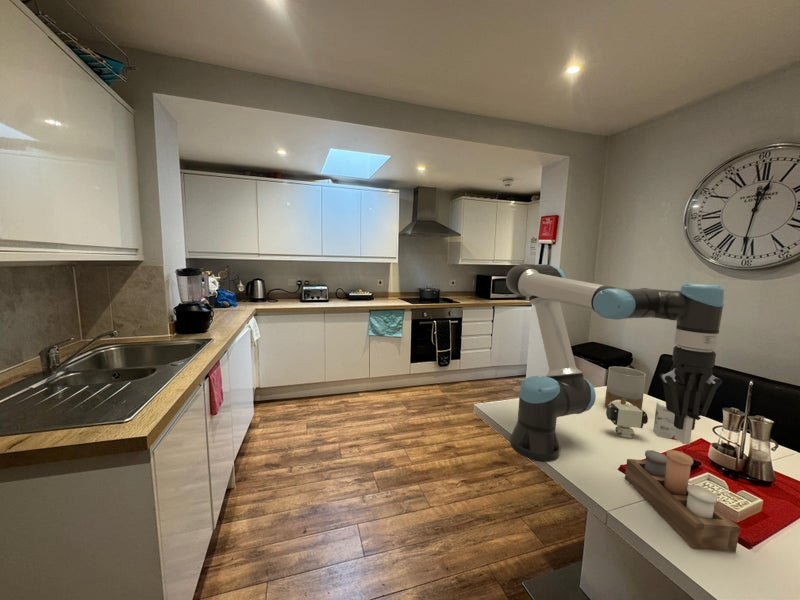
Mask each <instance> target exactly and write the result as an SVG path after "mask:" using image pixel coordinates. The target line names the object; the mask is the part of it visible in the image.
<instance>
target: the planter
mask: <svg viewBox="0 0 800 600" xmlns="http://www.w3.org/2000/svg"><path fill="white" fill-rule="evenodd" d="M646 377H647V374H646V373H645V372H643V371H641V370H638V369H635V368H631V367H625V366H609V367H608V373H607V381H606V391H605V397H604V399H605V400H604V408H606V409H607V408H608V407H609V406H610V405H611V403H612V402H614V401H620V402H619V404H622V405H624V404H627V403H630V404H631V406H638V407H639V408H640V409H642V410H643V402H644V392H645V386H646V385H645V384H646Z"/></svg>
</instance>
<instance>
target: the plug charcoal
mask: <svg viewBox="0 0 800 600" xmlns="http://www.w3.org/2000/svg"><path fill="white" fill-rule="evenodd" d="M644 456H645V460H646V461H645V470H646V471H647V472H648V473H649V474H650V475H651V476H660V477H665V472H666V465H667V458H668V457H667V456H666V455H665V454H664V453H661V452H660V451H655V450H650V449H649V450H648V449H647V450H645V452H644Z"/></svg>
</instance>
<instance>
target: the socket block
mask: <svg viewBox="0 0 800 600" xmlns="http://www.w3.org/2000/svg"><path fill="white" fill-rule="evenodd" d="M645 461H646V459H633V458H626V463H625V465H626V466H625V472H624V473H625V474H624V479H625V481H627V482H628V484H629V485H631V486H632V488H634V490H635V491H636V492H637V493H638V494H639V495H641V497H642V498H643V499H644V500H645V501H646V502H647V503H648V504H649V505H650V506H651V507H652V509H653V510H655V512H656V513H657V514H659V516H660V517H661V518H662V519H663V520H664V521H665V522H666V523H667V524H668V525H669V526H670V527H671V529H673V530H674V531H675V533H677V535H679V537H680V538H682V540H683V541H684V542H685V543H686V544H687V545H688V546H689V548H691V549H695V550H705V551H715V552H716V551H717V552H725V553H726V552H727V553H736V552H737V547H738V541H739V536H740V535H739V534H740V530H741V526H739V525H738V524H737V523H736V522H735V521H734V520H732V519H731V518H730V517H728V516H727V515H726V514H724V513H723V512H722V511H721V510H720V509H719V508H717V507H716V506H715V505H714V511H713V518H712V519H709V518H697V517H696V516H695V515H694V514H693V513H692V512H691V511H690V510H688V509H687V508H686V505H687V498H688V492H687V496H681V495H672V494H671V493H670V492H669V491H668V490H667V489H666V488H664V480H665V477H660V476H651V475H650V474H649V473H648V472H647V471H646V470H645Z"/></svg>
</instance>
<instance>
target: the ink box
mask: <svg viewBox="0 0 800 600" xmlns="http://www.w3.org/2000/svg"><path fill="white" fill-rule="evenodd" d="M654 414H655V415H654V421H653V422H654V424H653V432H654V434H655V435H656V436H657V437H660V438H666V439H670V440H674V441H675V440H676V441H678V440H677V439H675V430H676V427H674V418H675V414H674V413H672V412H670V411H668V410H667V408H666V402H661V401H656V405H655V413H654Z"/></svg>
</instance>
